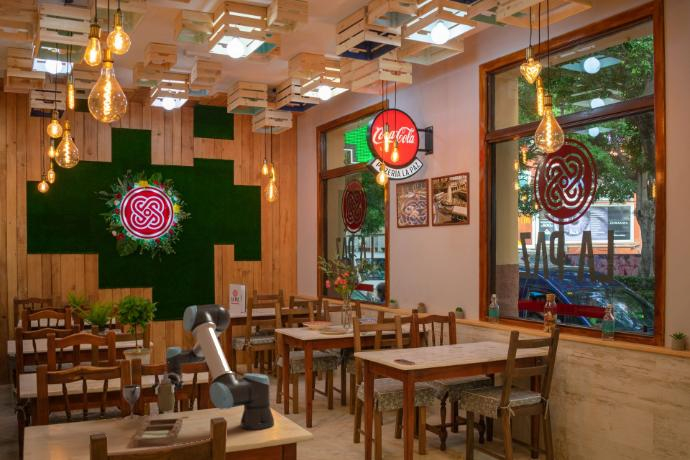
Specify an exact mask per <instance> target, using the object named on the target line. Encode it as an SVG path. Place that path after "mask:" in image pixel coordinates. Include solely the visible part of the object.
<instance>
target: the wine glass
mask: <svg viewBox="0 0 690 460" xmlns="http://www.w3.org/2000/svg"><path fill="white" fill-rule="evenodd" d="M122 391H123V392H122V394H123V398H124V400H125V401H126V402H127V403H128V404H129V405H130V415H128V416H127V415H126V416H125V417H124V419H125V418H131V419H130V420H133V418H135V419H139V418H140V417H141V416H140V415H137V414H134V405H135V403H136V402H137V400H138V399H139V397H140V392H141V385H140V384H127V385H124V386H122Z"/></svg>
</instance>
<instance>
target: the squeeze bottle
mask: <svg viewBox="0 0 690 460" xmlns="http://www.w3.org/2000/svg"><path fill="white" fill-rule="evenodd" d="M160 383H161V384H160V385H159V393H158V394H157V401H156V402H157V403H156V404H157V405H158V408H159V411H160V412H170V411H172V410H173V409H174V407H175V405H176V399H175V398H176V397H175V392H174V393H171V387H172V386H173V384H172V383H171V379H168V375H167V372H166V371H164V372H163V376H162V379H160Z"/></svg>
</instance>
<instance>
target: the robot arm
mask: <svg viewBox="0 0 690 460" xmlns="http://www.w3.org/2000/svg"><path fill="white" fill-rule="evenodd" d="M182 319H183V321H182V322H183V323H182V324H183V328H184V331H186V332H189V333H190V332H191V335H192V337H193V338H194V339H197V341H196V343H195V344H194V346H193V347H192V348H188V349H182V348H181V347H180V346H171V347H167V348H166V350H165V364H167V373H168V374H167V375H168V379H171V383H172V384H173V386H172V387H171V393H174V394H175V392H176V391H178V390H180V391H181V390H182V389H183V387H184V386H185V385H184V380H183V373H182V365H183V366H185V365H184V363H189V364H188V365H191V364H197V363H196V362H201V363H203V362H204V363H205V362H206V364H207V366H208V370H209V373H210V375H211V378H212V381H211V383H210V384H211V385H210V386H209V397H210V400H211V403H212V404H213V405H214V407H216V408H217V409H220V410H224V409H228V410H229V409H230V408H235V407H240V406H241V407H242V406H244V407H243V412H242V415H241V419H240V428H241V429H244V430H251V431H252V430H253V431H254V430H255V431H256V430H264V429H269V428H271V427H273V426H274V425H275V419H274V415H273V412H272V410H271V405H270V404H271V401H270V400H271V399H270V398H271V397H270V396H271V395H270V386H271V384H270V378H269V376H268V375H266V374H262V373H244V374H243V376H242V378H238V375H237V374H236V373H235V371H231V368H230V366H229V363H228V360H227V358H226V356H225V353H224V350H223V348H222V345H221V343H220V341H219V339H218V338H219V337H220V335H221V334H222V333H223V332H225V331H227V329H228V328H229V326H230V323H231V315H230V312H229V310H228V309H227V308H226V307H225V306H224V305H222V304H217V303H215V304H214V303H212V304H205V305H204V304H203V305H191V306H188V307H187V308H186V309H185V311H184V313H183V318H182ZM168 362H169V363H168ZM160 384H161V382H157V381H156V382H154V384H152V385H151V392H155V395H158V393H159V385H160Z"/></svg>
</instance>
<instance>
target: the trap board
mask: <svg viewBox="0 0 690 460" xmlns="http://www.w3.org/2000/svg"><path fill="white" fill-rule="evenodd" d="M182 426H183V417H179V418H161V419H148V420H146V421H145V422H144V423H143V424H142V426H141V428H140V429H139V430H138V432H137V434H136V435H135V436H134V437H133V439H132V447H133V448H140V447H141V448H142V447H154V446H170V445H172V446H173V445H174V443H175V441H176V439H177V437H178V435H179V433H180V431H181V429H182Z"/></svg>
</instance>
